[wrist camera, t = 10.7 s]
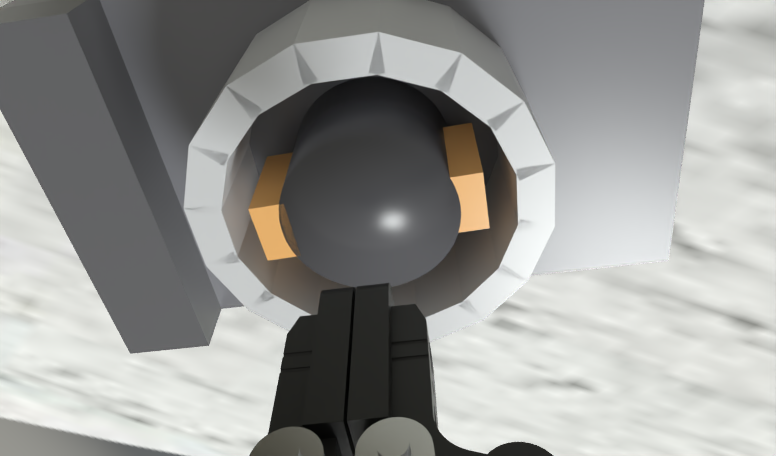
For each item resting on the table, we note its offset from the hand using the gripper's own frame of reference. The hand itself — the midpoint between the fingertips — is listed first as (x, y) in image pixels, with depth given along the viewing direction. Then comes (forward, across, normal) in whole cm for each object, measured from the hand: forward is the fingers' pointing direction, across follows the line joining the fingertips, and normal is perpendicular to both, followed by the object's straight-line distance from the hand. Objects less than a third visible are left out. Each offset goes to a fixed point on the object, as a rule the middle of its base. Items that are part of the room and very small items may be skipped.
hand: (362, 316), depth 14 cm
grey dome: (+8, 0, 0) cm, 8 cm away
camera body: (+15, 0, 0) cm, 15 cm away
